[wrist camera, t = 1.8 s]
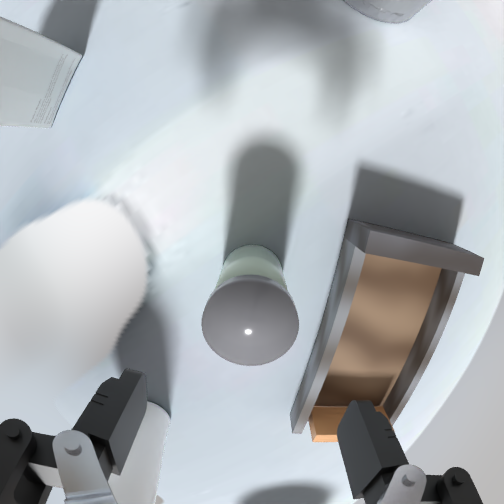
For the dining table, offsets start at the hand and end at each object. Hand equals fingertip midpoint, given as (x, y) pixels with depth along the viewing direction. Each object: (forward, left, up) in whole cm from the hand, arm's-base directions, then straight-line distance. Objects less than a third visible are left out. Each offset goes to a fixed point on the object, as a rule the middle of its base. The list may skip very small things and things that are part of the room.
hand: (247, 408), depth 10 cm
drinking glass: (+20, -9, -15) cm, 27 cm away
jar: (0, 0, -15) cm, 15 cm away
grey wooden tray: (+5, +13, -15) cm, 21 cm away
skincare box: (-15, -23, -15) cm, 32 cm away
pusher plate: (+14, +13, -14) cm, 24 cm away
